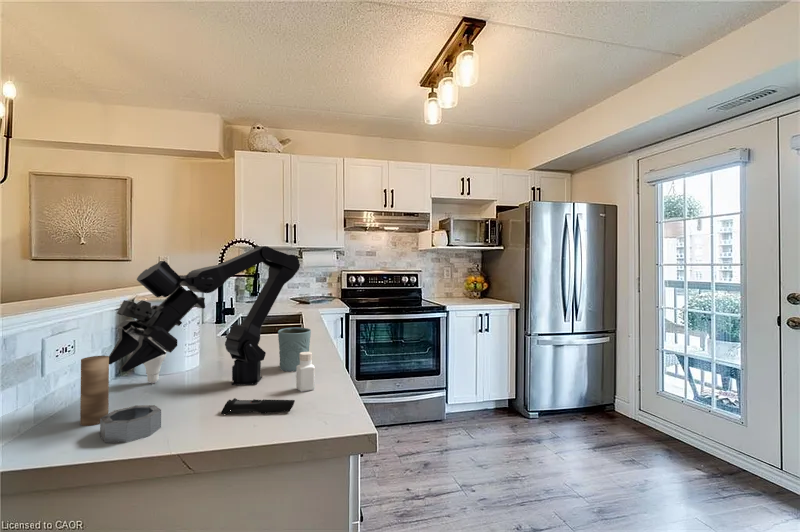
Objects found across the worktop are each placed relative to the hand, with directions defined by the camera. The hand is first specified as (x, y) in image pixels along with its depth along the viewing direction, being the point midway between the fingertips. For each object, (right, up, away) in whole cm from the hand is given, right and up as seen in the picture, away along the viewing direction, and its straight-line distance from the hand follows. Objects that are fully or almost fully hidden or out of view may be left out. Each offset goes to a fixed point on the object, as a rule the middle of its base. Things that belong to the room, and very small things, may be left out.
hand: (114, 366), depth 80 cm
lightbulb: (-7, -11, +23) cm, 26 cm away
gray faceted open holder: (+9, -11, -7) cm, 16 cm away
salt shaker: (+36, -11, +19) cm, 42 cm away
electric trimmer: (+29, -11, +4) cm, 31 cm away
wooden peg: (-2, -11, -3) cm, 11 cm away
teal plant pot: (+27, -11, +39) cm, 49 cm away
